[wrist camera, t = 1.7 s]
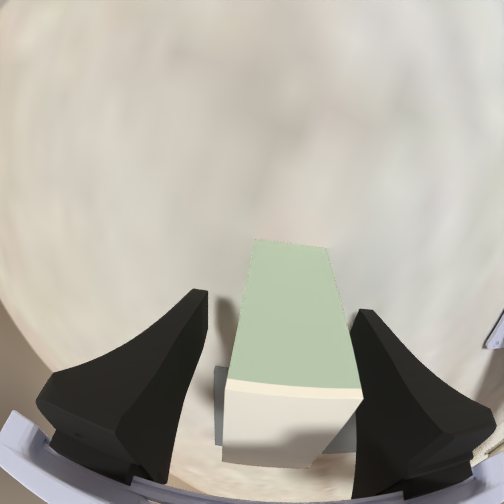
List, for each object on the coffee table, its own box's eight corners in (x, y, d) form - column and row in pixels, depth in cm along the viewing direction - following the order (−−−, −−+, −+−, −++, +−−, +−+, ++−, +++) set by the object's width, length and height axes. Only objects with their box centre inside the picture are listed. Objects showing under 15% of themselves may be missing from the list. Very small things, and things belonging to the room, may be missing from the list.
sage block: (326, 248, 12) (363, 398, 5) (303, 334, 14) (307, 468, 7) (255, 238, 12) (224, 389, 5) (245, 327, 14) (222, 461, 8)
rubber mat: (423, 376, 15) (424, 381, 15) (360, 448, 21) (360, 451, 20) (215, 366, 16) (214, 371, 15) (215, 441, 21) (215, 444, 21)
